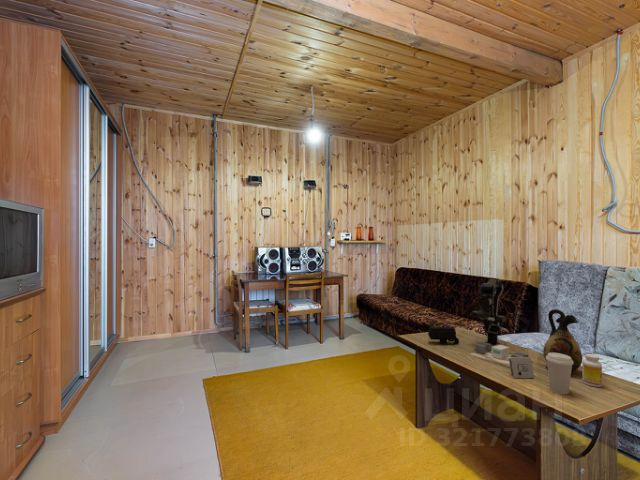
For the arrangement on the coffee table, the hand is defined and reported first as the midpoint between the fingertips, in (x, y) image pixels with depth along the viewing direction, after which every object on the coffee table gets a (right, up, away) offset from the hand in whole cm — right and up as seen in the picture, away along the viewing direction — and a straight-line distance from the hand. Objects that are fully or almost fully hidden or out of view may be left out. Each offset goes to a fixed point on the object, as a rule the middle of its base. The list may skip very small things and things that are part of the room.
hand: (487, 330), depth 185 cm
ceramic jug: (+20, -11, -30) cm, 38 cm away
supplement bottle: (+23, -11, -45) cm, 52 cm away
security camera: (-22, -11, +10) cm, 27 cm away
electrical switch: (-5, -11, -37) cm, 39 cm away
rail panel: (-1, -11, -16) cm, 19 cm away
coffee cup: (+3, -11, -52) cm, 53 cm away
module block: (-1, -9, -16) cm, 18 cm away
